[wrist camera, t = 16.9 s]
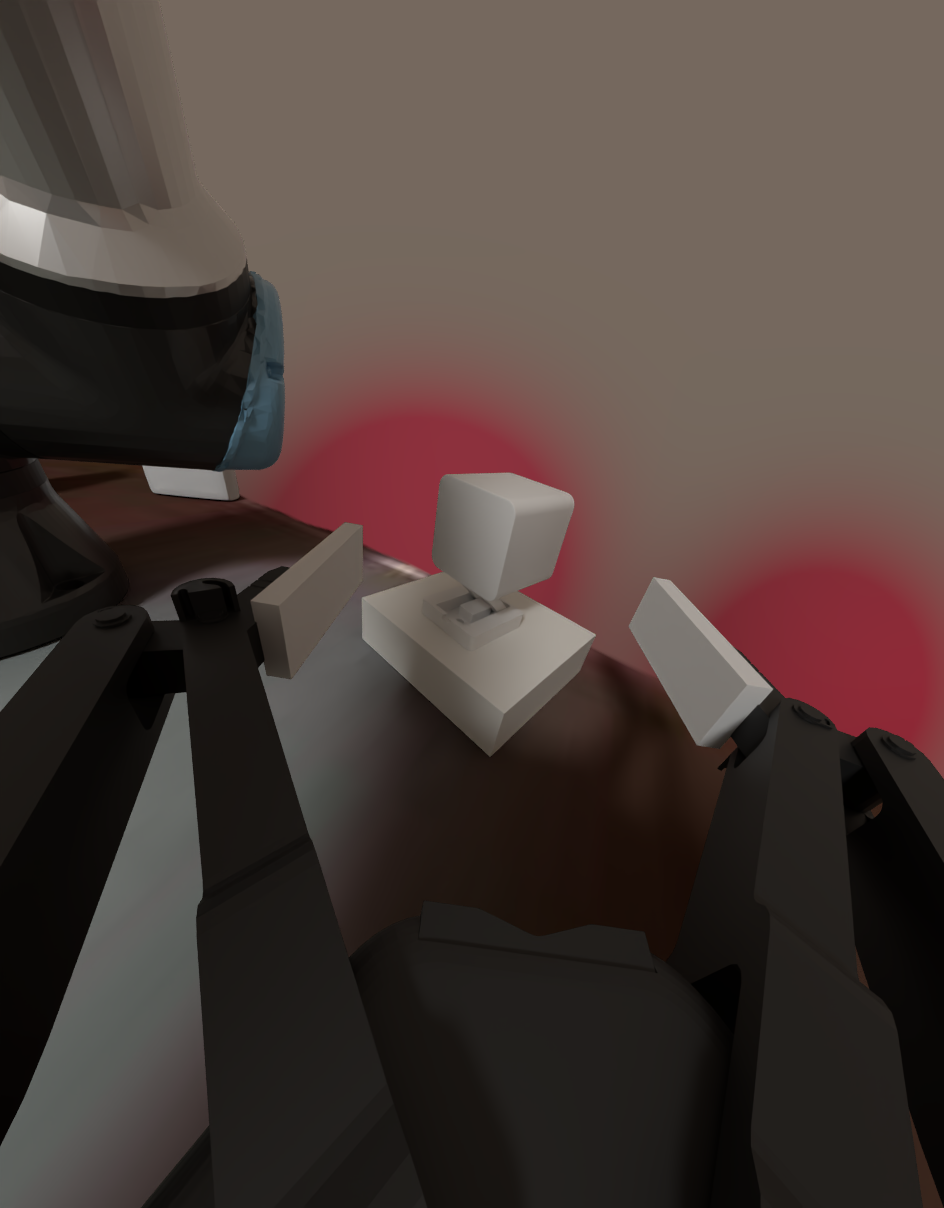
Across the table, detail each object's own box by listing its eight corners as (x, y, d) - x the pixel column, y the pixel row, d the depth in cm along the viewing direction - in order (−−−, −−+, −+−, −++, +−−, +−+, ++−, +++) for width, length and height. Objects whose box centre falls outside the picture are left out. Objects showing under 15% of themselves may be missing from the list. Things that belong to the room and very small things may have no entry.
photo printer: (145, 494, 45) (107, 385, 38) (164, 486, 48) (132, 384, 42) (232, 504, 47) (210, 401, 40) (245, 495, 50) (226, 400, 44)
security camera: (536, 623, 27) (578, 496, 21) (474, 656, 22) (507, 505, 17) (480, 587, 30) (504, 470, 25) (416, 609, 26) (429, 471, 20)
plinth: (362, 638, 28) (361, 597, 26) (462, 597, 36) (468, 563, 34) (490, 757, 21) (504, 713, 18) (579, 671, 29) (596, 634, 27)
